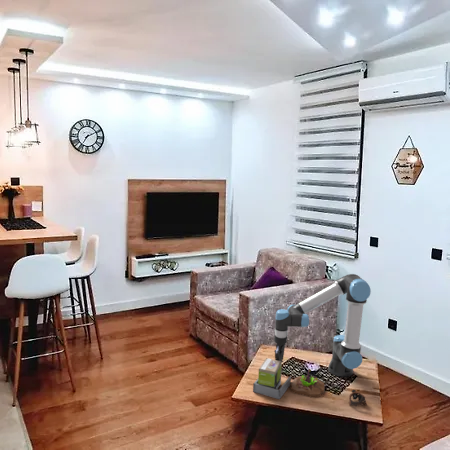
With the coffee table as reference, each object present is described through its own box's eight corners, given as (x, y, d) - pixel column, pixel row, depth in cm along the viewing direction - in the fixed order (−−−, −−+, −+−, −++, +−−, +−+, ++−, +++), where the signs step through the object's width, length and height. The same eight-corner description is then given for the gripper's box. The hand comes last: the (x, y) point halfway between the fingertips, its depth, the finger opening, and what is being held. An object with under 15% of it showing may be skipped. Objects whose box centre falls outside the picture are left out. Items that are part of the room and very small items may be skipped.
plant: (328, 385, 274) (329, 367, 272) (320, 400, 256) (322, 382, 254) (295, 377, 282) (296, 359, 280) (286, 391, 264) (287, 373, 262)
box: (290, 384, 271) (291, 376, 271) (279, 399, 255) (280, 391, 254) (265, 377, 278) (265, 370, 278) (252, 391, 262) (253, 383, 261)
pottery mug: (370, 408, 250) (367, 399, 246) (355, 416, 250) (352, 406, 246) (360, 392, 261) (357, 383, 257) (345, 399, 260) (341, 390, 256)
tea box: (264, 380, 275) (266, 357, 273) (281, 384, 272) (282, 360, 269) (257, 392, 261) (258, 367, 259) (274, 396, 258) (275, 371, 255)
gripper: (278, 330, 278) (276, 366, 283) (271, 338, 267) (268, 375, 272) (290, 333, 275) (287, 369, 280) (283, 341, 264) (280, 378, 269)
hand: (278, 372), depth 276 cm, fingers closed
